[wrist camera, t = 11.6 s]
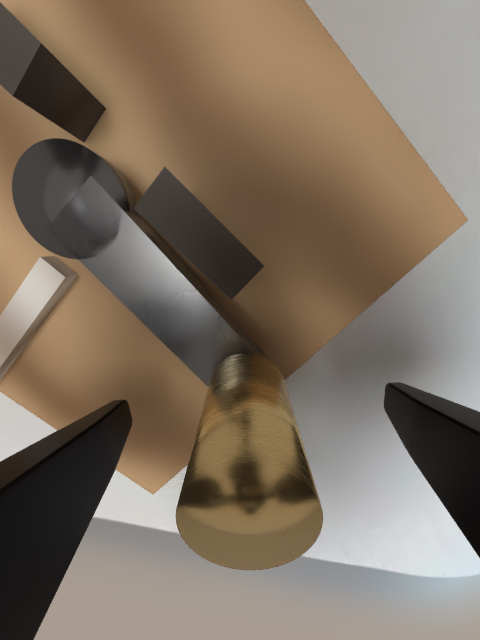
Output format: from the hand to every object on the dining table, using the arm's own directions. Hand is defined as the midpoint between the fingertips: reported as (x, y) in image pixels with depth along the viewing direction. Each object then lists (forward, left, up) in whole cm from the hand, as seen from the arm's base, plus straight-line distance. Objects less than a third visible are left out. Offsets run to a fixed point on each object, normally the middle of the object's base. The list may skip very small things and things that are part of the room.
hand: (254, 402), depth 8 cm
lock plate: (-1, -9, -5) cm, 10 cm away
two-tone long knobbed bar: (0, -5, -3) cm, 5 cm away
